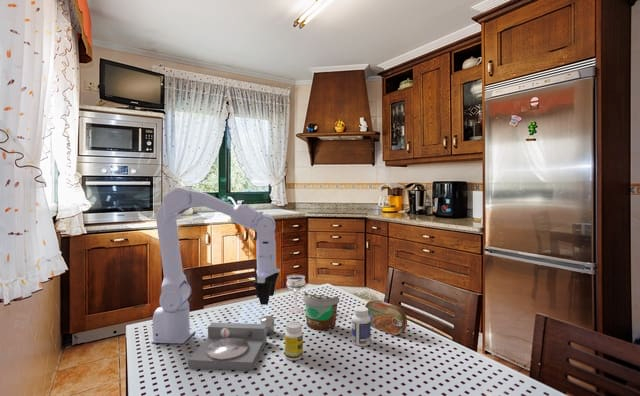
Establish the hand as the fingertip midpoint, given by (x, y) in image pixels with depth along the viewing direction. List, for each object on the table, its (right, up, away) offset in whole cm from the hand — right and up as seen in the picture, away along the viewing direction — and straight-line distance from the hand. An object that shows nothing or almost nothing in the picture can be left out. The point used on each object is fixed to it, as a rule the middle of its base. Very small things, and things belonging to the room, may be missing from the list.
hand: (267, 299), depth 99 cm
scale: (-8, -11, -12) cm, 18 cm away
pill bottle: (+28, -11, -5) cm, 30 cm away
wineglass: (+7, -10, +19) cm, 23 cm away
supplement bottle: (+9, -11, -13) cm, 19 cm away
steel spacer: (0, -10, 0) cm, 10 cm away
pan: (-8, -9, -14) cm, 18 cm away
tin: (+36, -11, +3) cm, 38 cm away
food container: (+15, -10, +4) cm, 19 cm away
